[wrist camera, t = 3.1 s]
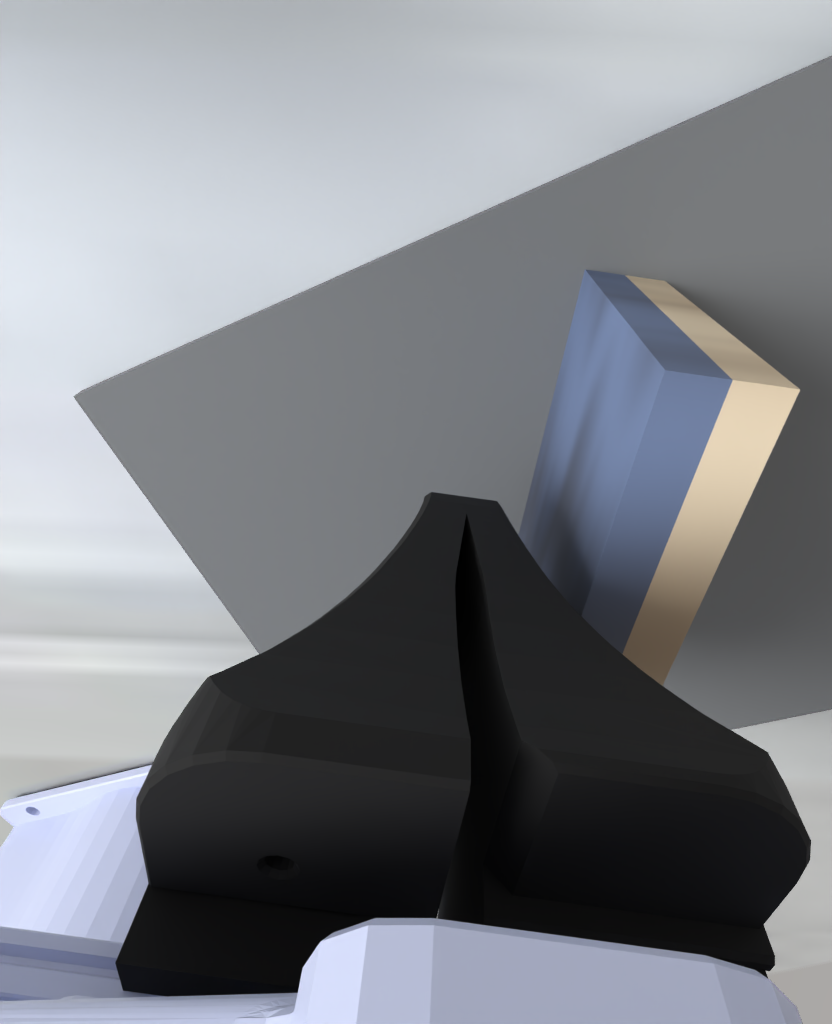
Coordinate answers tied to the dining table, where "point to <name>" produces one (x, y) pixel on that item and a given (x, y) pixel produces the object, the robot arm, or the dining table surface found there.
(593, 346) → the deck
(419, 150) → the dining table surface
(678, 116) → the dining table surface
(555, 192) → the mat
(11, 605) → the dining table surface
